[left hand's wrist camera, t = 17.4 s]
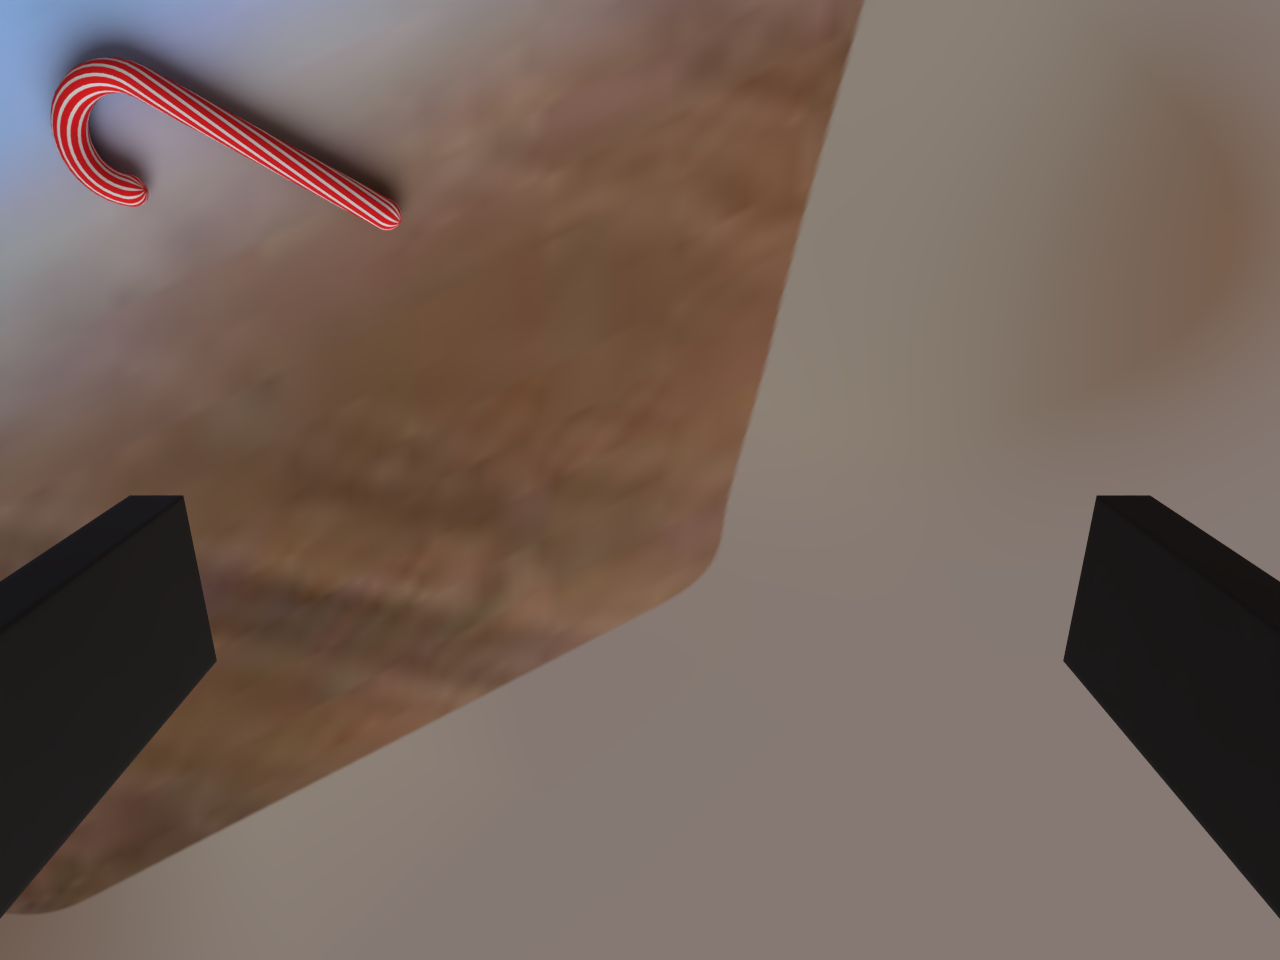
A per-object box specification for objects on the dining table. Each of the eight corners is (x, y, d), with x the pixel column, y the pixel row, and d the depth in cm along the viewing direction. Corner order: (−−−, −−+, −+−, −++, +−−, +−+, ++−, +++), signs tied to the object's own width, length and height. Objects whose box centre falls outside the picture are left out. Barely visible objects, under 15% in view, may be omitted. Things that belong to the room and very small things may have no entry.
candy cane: (362, 321, 41) (353, 327, 40) (48, 164, 38) (26, 164, 37) (411, 204, 39) (403, 206, 38) (84, 30, 36) (62, 26, 35)
